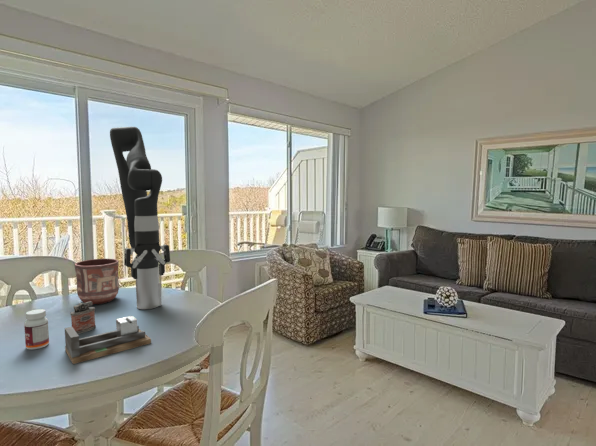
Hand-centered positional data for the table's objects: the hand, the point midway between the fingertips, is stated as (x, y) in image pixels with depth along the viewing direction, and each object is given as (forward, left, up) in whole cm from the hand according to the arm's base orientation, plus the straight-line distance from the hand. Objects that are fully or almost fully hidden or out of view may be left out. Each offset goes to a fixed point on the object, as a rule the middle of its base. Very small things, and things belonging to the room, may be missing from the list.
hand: (148, 276), depth 124 cm
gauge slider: (+8, +2, -19) cm, 20 cm away
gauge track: (+13, 0, -21) cm, 24 cm away
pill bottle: (+30, -16, -21) cm, 40 cm away
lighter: (+16, -21, -21) cm, 33 cm away
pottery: (+3, -57, -21) cm, 60 cm away
